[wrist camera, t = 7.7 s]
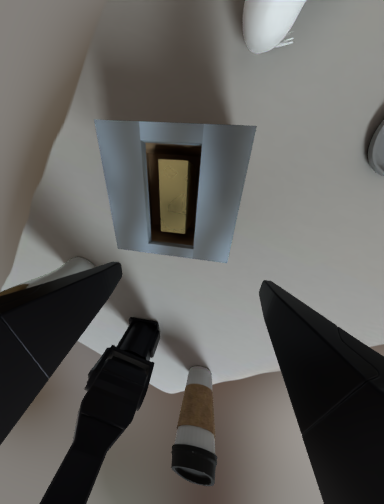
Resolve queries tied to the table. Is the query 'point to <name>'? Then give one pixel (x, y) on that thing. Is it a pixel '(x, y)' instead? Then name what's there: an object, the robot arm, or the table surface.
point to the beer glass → (54, 274)
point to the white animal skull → (268, 23)
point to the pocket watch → (377, 150)
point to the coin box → (147, 183)
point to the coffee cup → (196, 431)
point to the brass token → (176, 194)
